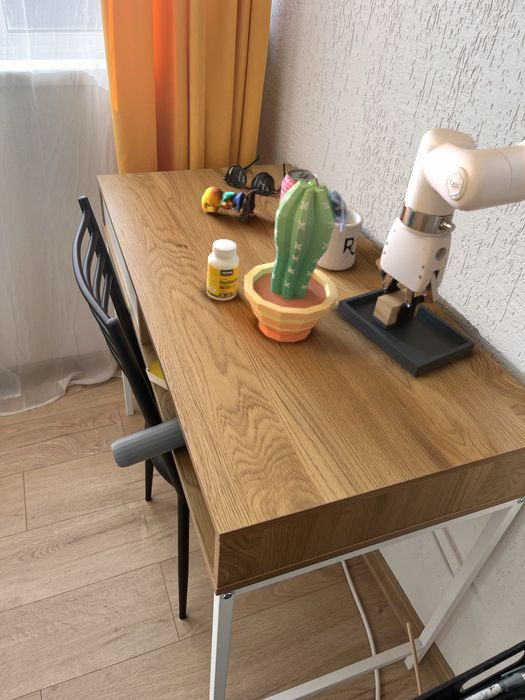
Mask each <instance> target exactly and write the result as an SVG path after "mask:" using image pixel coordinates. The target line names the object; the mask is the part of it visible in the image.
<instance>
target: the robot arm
mask: <svg viewBox="0 0 525 700" xmlns="http://www.w3.org/2000/svg"><path fill="white" fill-rule="evenodd" d="M523 201H525V139H524V140H522V141H521V142H519V143H516V144H515V145H509V146H508V145H507V146H499V147H490V148H477V144H476V141H475V139H474V138H473V137H472V135H469V134H468V133H466V132H463V131H460V130H456V129H451V128H446V127H445V128H444V127H442V128H441V127H440V128H438V127H437V128H432V129H430V130H428V131H427V132H425V133H424V134H423V136H422V138H421V140H420V143H419V147H418V150H417V154H416V157H415V161H414V165H413V168H412V172H411V176H410V179H409V182H408V185H407V189H406V193H405V197H404V200H403V204H402V206H401V211H400V214H398V215H397V217H396V218H395V220H394V221H393V224H392V226H391V227H390V230H389V233H388V235H387V238H386V240H385V243H384V246H383V249H382V253H381V255H380V257H379V258H377V259H376V261H375V264H376V266H377V268H378V270H379V272H380V276H381V279H382V285H381V286H382V287H381V288H383V289H385V290H384V293H383V295H387V294H390V293H393V292H396V291H400V290H399V289H400V288H401V287H399V285H400V284H402V285H403V286H404V287H406V288H408V289H407V294H406V300H405V303H402V304H401V307H400V311H399V314H398V317H397V320H396V322H397V323H398V324H401V323H404V322H407V321H410V320H411V319H412V318H413V315H414V313H415V310H416V307H417V304H419V303H421V304H433V303H436V302H439V290H438V289H439V288H440V286H441V284H442V281H443V278H444V275H445V272H446V268H447V265H448V260H449V256H450V252H451V245H452V233H453V232H455V230H456V224H455V223H453V218H454V214H455V211H456V210H458V211H463V212H476V211H480V210H485V209H490V208H494V207H499V206H504V205H510V204H516V203H520V202H523ZM397 286H398V287H397ZM425 290H426V293H425ZM414 294H415V297H414Z"/></svg>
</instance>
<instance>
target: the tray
mask: <svg viewBox="0 0 525 700" xmlns="http://www.w3.org/2000/svg"><path fill="white" fill-rule="evenodd" d="M397 287H399V285H398V286H397ZM399 288H400V289H399V290H403V288H401V287H399ZM384 290H385V289H383V287H381V288H378V289H374V290H371V291H367V292H363V293H361V294H357V295H354V296H350V297H347V298H343V299H340V300H338V303H337V308H336V311H337V312H338V313H339V315H341V316H343V318H344V319H346V320H347V321H348V322H350V323H351V324H352V325H353V326H354V327H355V328H356V329H358V330H359V331H360V332H361V333H362V334H364V335H365V336H366V337H367V338H368V339H369V340H370V341H372V342H373V343H374V344H375V345H377V346H378V348H380V349H381V350H382V351H383V352H385V353H386V354H387V355H388V356H389V357H391V359H393V360H394V361H395V362H396V363H398V364H399V365H400V366H401V367H402V368H403V369H404V370H405V371H407V372H408V373H409V374H410V375H411V376H412V377H414V378H415V377H417V376H420V375H423V374H425V373H427V372H430V371H432V370H434V369H437V368H439V367H442V366H444V365H447V364H448V363H451V362H453V361H456V360H458V359H460V358H463V357H465V356H467V355H468V356H469V354H472V353H473V350H474V348H475V347H476V341H474V340H472V339H471V338H470V337H469V336H467V335H466V334H465V333H463V332H461V331H460V330H459V329H457V328H456V327H454V326H453V325H451V324H450V323H449V322H447V321H446V320H445V319H443V317H441V316H439V314H436V313H435V312H434V311H432V309H430V308H428V307H427V306H426V305H424V303H420V305H419V308H418V311H417V314H416V317H415V319H414V320H411V321H408V322H405V323H402V324H399V325H396V326H394V327H391V328H388V329H385V328H384V327H382V326H381V325H380V324H379V323H377V322H376V321H375V320H374V319H373V314H374V310H375V307H376V303H377V300H378V297H380V296H383V293H384Z"/></svg>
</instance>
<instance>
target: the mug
mask: <svg viewBox="0 0 525 700" xmlns="http://www.w3.org/2000/svg"><path fill="white" fill-rule="evenodd" d="M347 210H348V218H347V222H346V224H345V227H344V230H343V232H340V229H341V221H339V219H337V220H335V225H334V228H333V232H332V236H331V239H330V243H329V247H328V249H327V250H326V252H325V253H324V254H323V256H322V257H321V259H320V260H319V261H318V263H317V265H316V266H318V267H320V268H321V269H325V270H328V271H337V272H338V271H344V270H347V269H349V268H351V267H352V266H353V265H354V263H355V259H356V249H357V243H358V238H359V235H360V231H361V228H362V226H363V223H364V217H363V216H362V214H361V213H360V212H358V211H357V210H354V209H352V208H350V207H347Z"/></svg>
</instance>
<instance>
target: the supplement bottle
mask: <svg viewBox="0 0 525 700" xmlns="http://www.w3.org/2000/svg"><path fill="white" fill-rule="evenodd" d="M239 270H240V258H239V256H238V255H237V244H236V242H234V241H232V240H230V239H225V238H223V239H222V238H221V239H217V240H215V241H214V242H213V243H212V252H211V253H210V254H209V255H208V257H207V273H206V274H207V275H206V294H207V295H208V297H210V298H211V299H214V300H216V301H221V302H223V301H224V302H225V301H229V300H232V299H233V298H235V297H236V295H237V293H238V292H237V290H238V279H239Z"/></svg>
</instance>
